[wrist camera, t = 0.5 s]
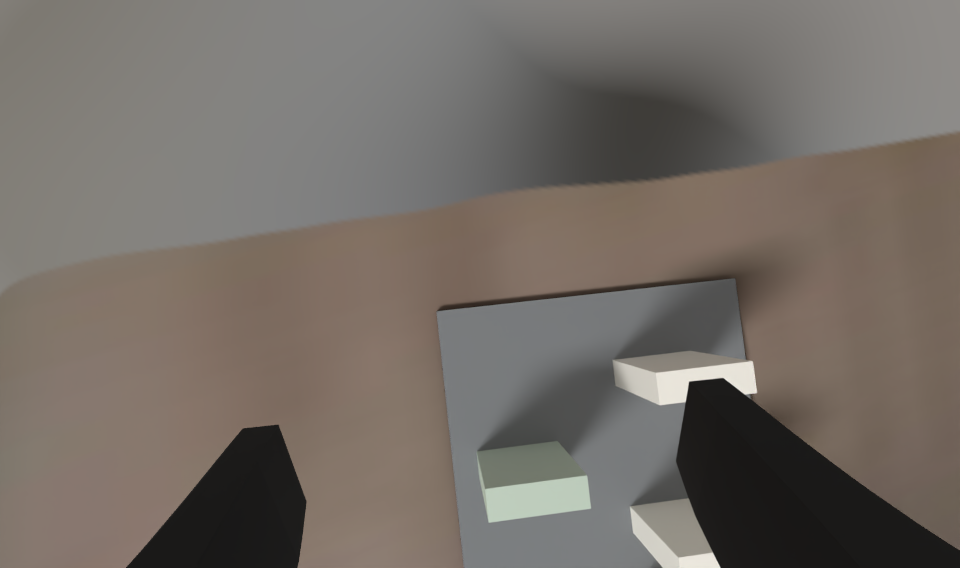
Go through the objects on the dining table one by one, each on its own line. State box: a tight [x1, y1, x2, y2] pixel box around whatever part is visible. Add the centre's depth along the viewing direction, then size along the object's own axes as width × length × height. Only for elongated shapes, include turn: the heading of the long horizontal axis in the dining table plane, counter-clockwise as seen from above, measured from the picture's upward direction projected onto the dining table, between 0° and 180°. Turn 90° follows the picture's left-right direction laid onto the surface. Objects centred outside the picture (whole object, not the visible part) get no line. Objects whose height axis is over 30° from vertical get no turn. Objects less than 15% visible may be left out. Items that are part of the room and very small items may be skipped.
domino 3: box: [630, 498, 720, 568], centre depth 30 cm, size 2×5×7 cm, turn 96°
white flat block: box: [613, 351, 757, 405], centre depth 31 cm, size 2×5×7 cm, turn 96°
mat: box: [437, 278, 751, 568], centre depth 34 cm, size 26×19×1 cm
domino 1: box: [477, 441, 591, 523], centre depth 30 cm, size 2×5×7 cm, turn 97°
